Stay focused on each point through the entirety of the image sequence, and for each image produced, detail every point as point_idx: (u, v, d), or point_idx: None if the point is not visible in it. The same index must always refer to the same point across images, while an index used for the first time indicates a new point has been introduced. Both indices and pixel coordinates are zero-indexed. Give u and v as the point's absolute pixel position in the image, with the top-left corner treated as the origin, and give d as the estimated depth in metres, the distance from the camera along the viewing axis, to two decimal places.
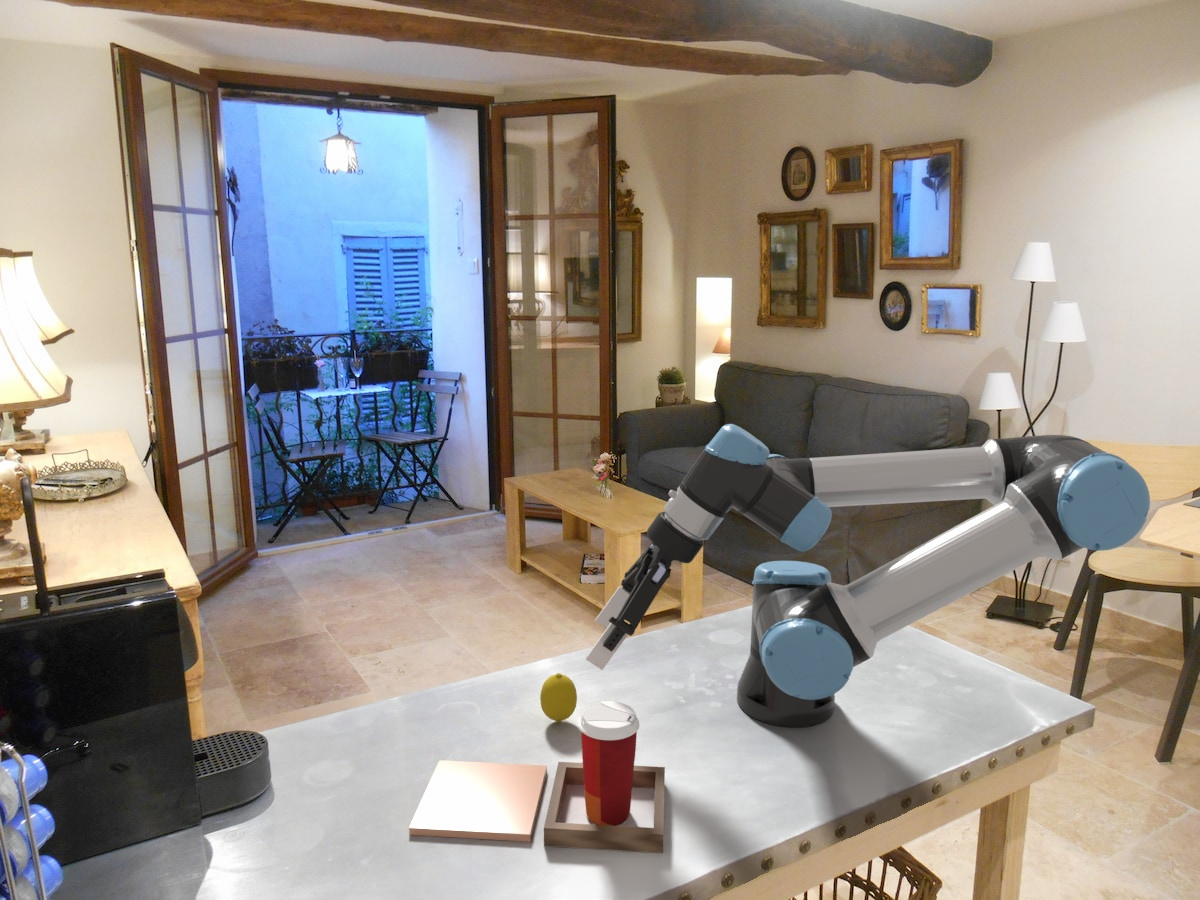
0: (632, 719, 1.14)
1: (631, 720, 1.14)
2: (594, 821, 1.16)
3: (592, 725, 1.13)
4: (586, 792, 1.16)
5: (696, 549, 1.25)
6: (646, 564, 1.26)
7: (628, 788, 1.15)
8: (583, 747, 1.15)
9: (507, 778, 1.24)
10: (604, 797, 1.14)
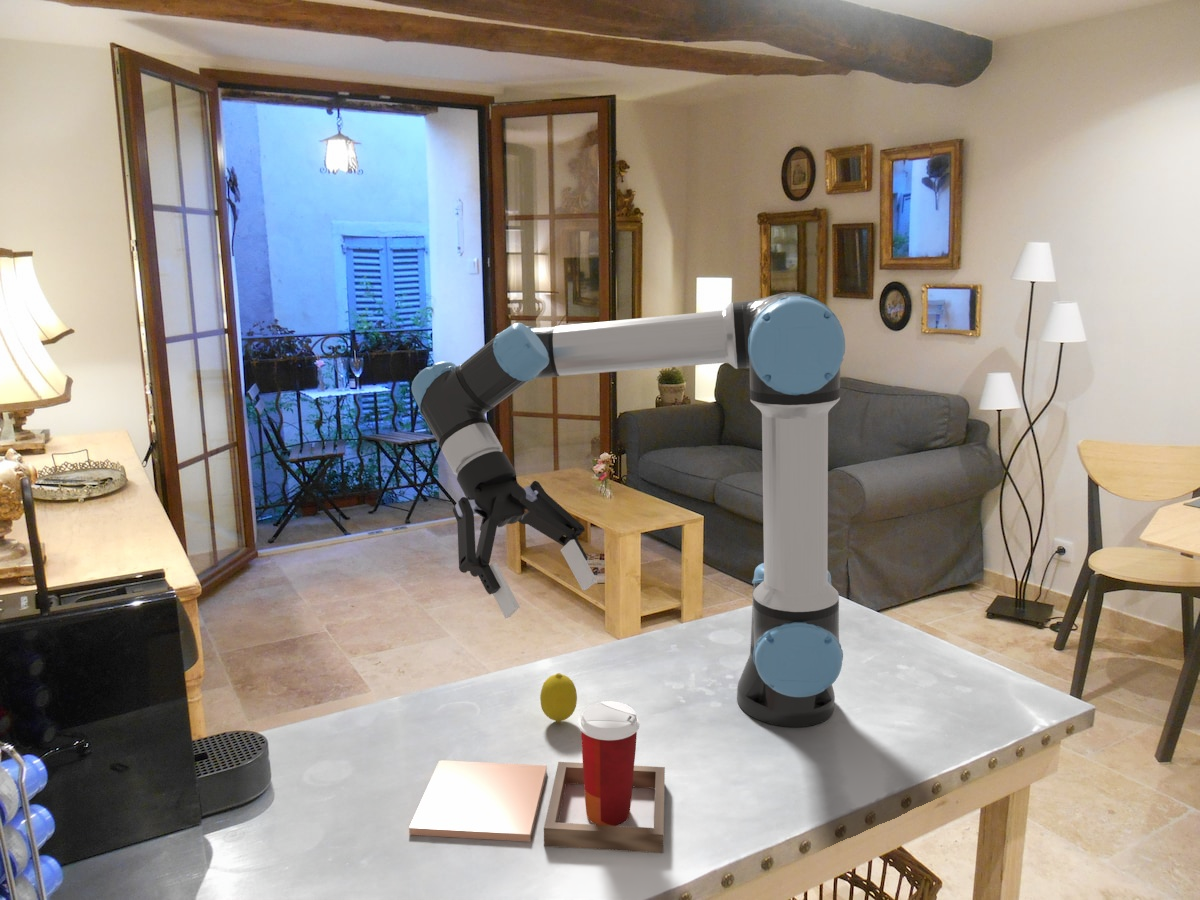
0: (632, 719, 1.14)
1: (631, 720, 1.14)
2: (594, 821, 1.16)
3: (592, 725, 1.13)
4: (586, 792, 1.16)
5: (479, 462, 1.22)
6: None
7: (628, 788, 1.15)
8: (583, 747, 1.15)
9: (507, 778, 1.24)
10: (604, 797, 1.14)
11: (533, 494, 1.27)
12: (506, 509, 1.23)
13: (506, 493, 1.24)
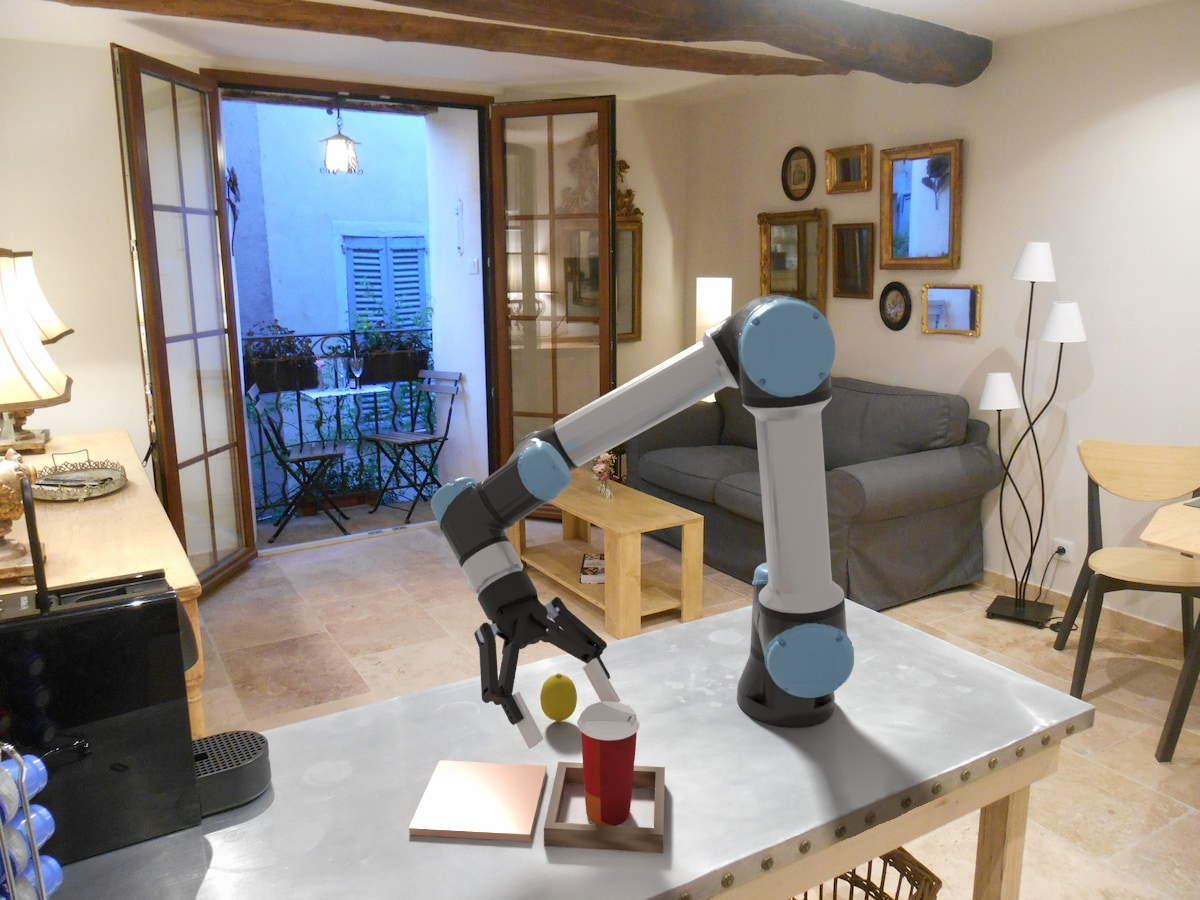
0: (632, 719, 1.14)
1: (631, 720, 1.14)
2: (594, 821, 1.16)
3: (592, 725, 1.13)
4: (586, 792, 1.16)
5: (500, 585, 1.21)
6: None
7: (628, 788, 1.15)
8: (583, 747, 1.15)
9: (507, 778, 1.24)
10: (604, 797, 1.14)
11: (555, 612, 1.26)
12: (528, 632, 1.22)
13: (528, 614, 1.23)
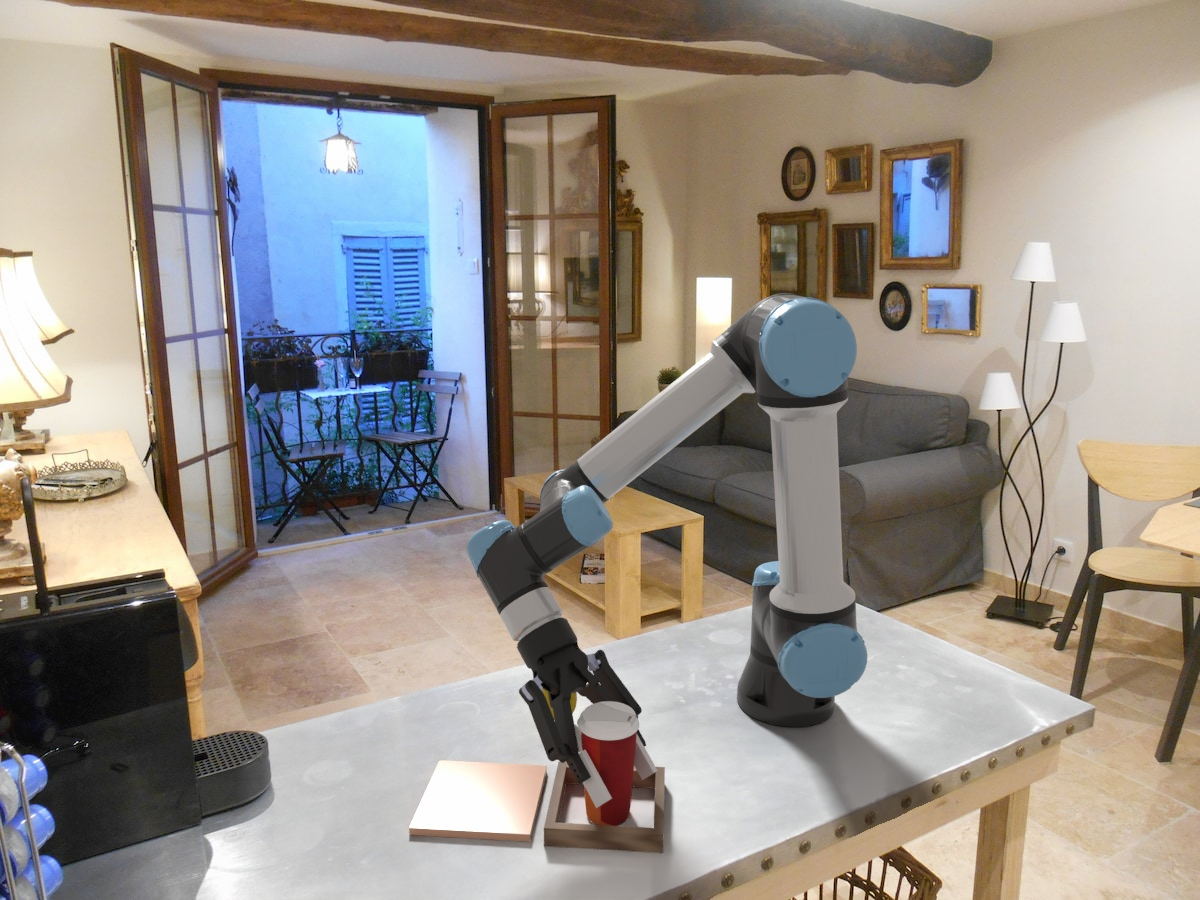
0: (632, 719, 1.14)
1: (631, 720, 1.14)
2: (594, 821, 1.16)
3: (591, 725, 1.13)
4: (586, 792, 1.16)
5: (541, 633, 1.18)
6: None
7: (628, 787, 1.15)
8: (583, 747, 1.15)
9: (507, 778, 1.24)
10: None
11: (595, 664, 1.23)
12: (570, 681, 1.18)
13: (569, 662, 1.20)
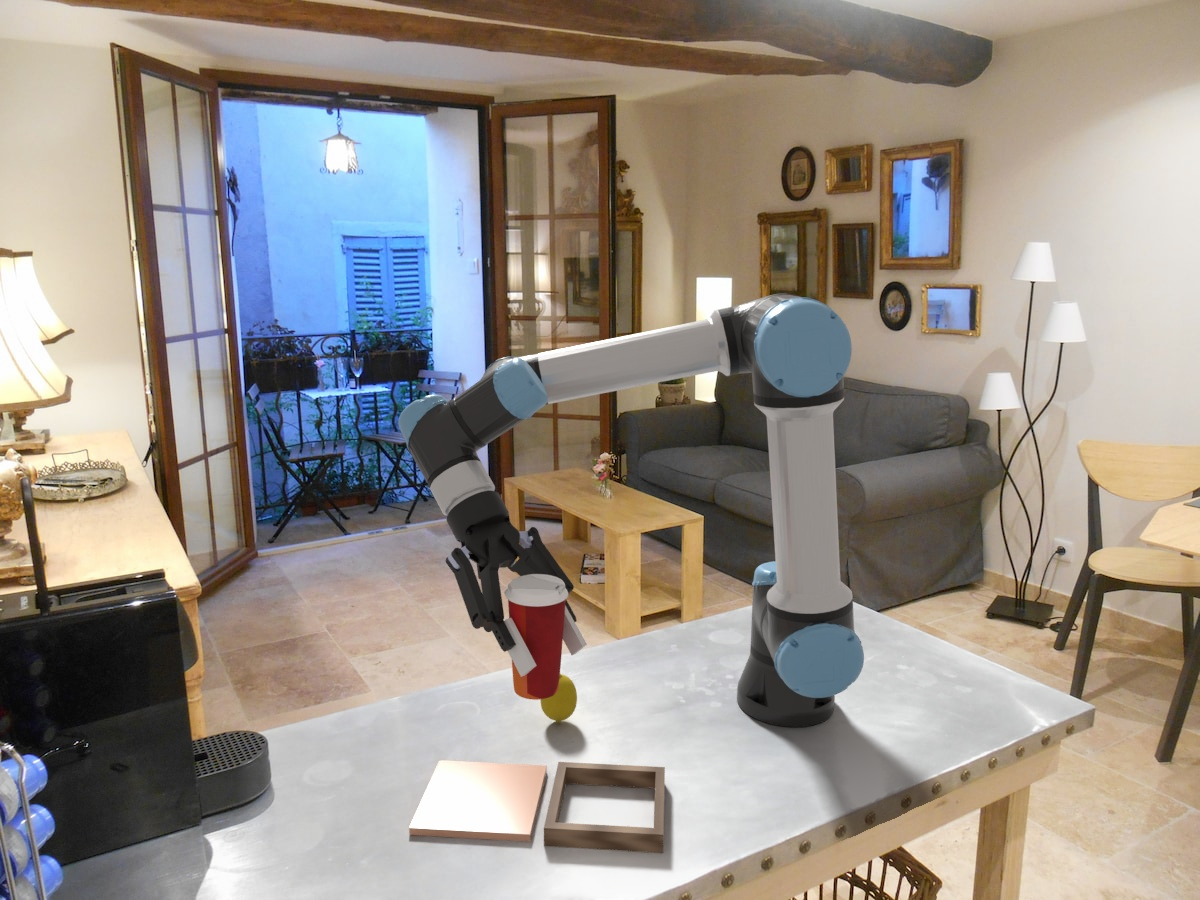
0: (560, 588, 1.11)
1: (559, 588, 1.11)
2: (521, 694, 1.13)
3: (518, 592, 1.10)
4: (513, 664, 1.13)
5: (470, 503, 1.15)
6: None
7: (556, 659, 1.13)
8: (510, 617, 1.12)
9: (507, 778, 1.24)
10: None
11: (528, 540, 1.20)
12: (499, 553, 1.16)
13: (499, 535, 1.17)
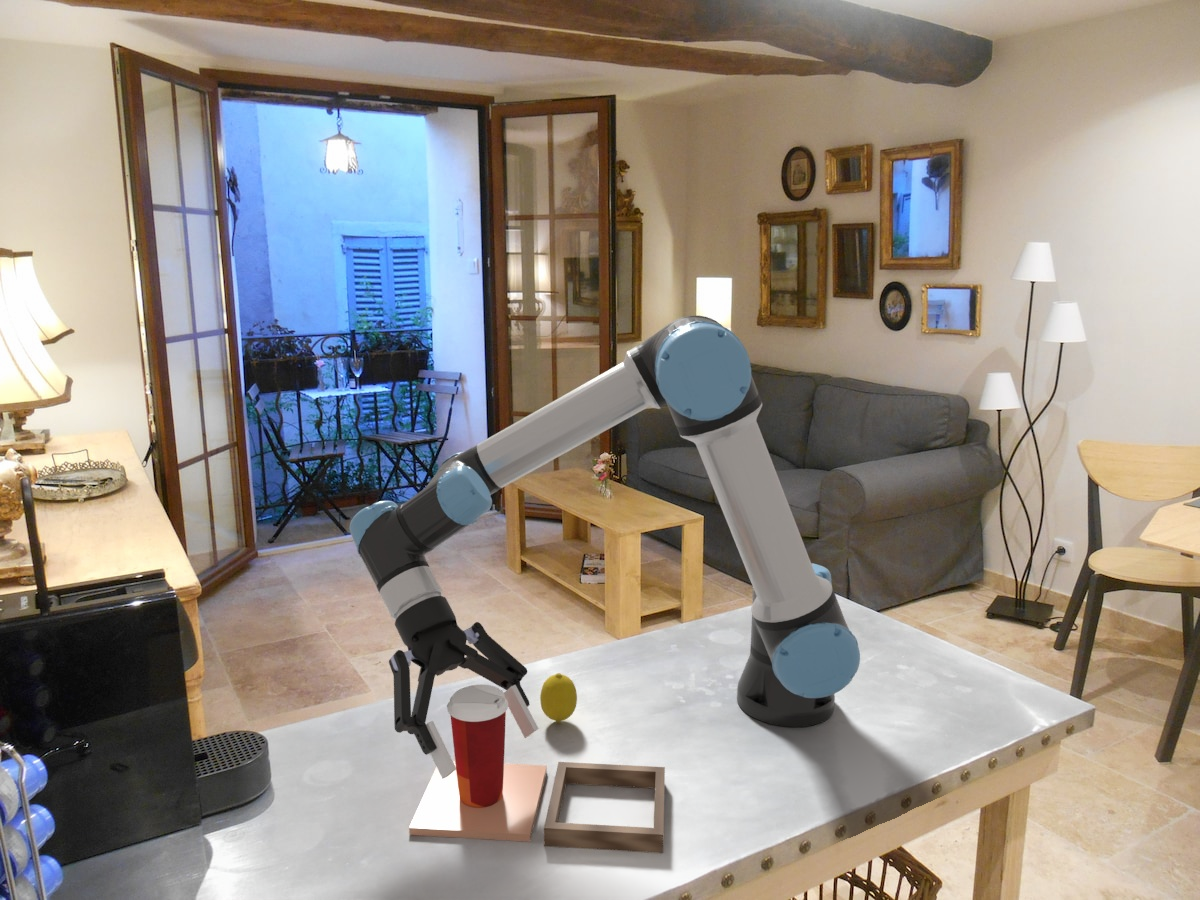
0: (499, 701, 1.16)
1: (498, 702, 1.16)
2: (465, 803, 1.18)
3: (458, 707, 1.15)
4: (457, 774, 1.18)
5: (416, 611, 1.20)
6: None
7: (497, 769, 1.17)
8: (452, 729, 1.17)
9: (507, 778, 1.24)
10: (473, 778, 1.16)
11: (474, 637, 1.25)
12: (445, 658, 1.20)
13: (445, 640, 1.22)
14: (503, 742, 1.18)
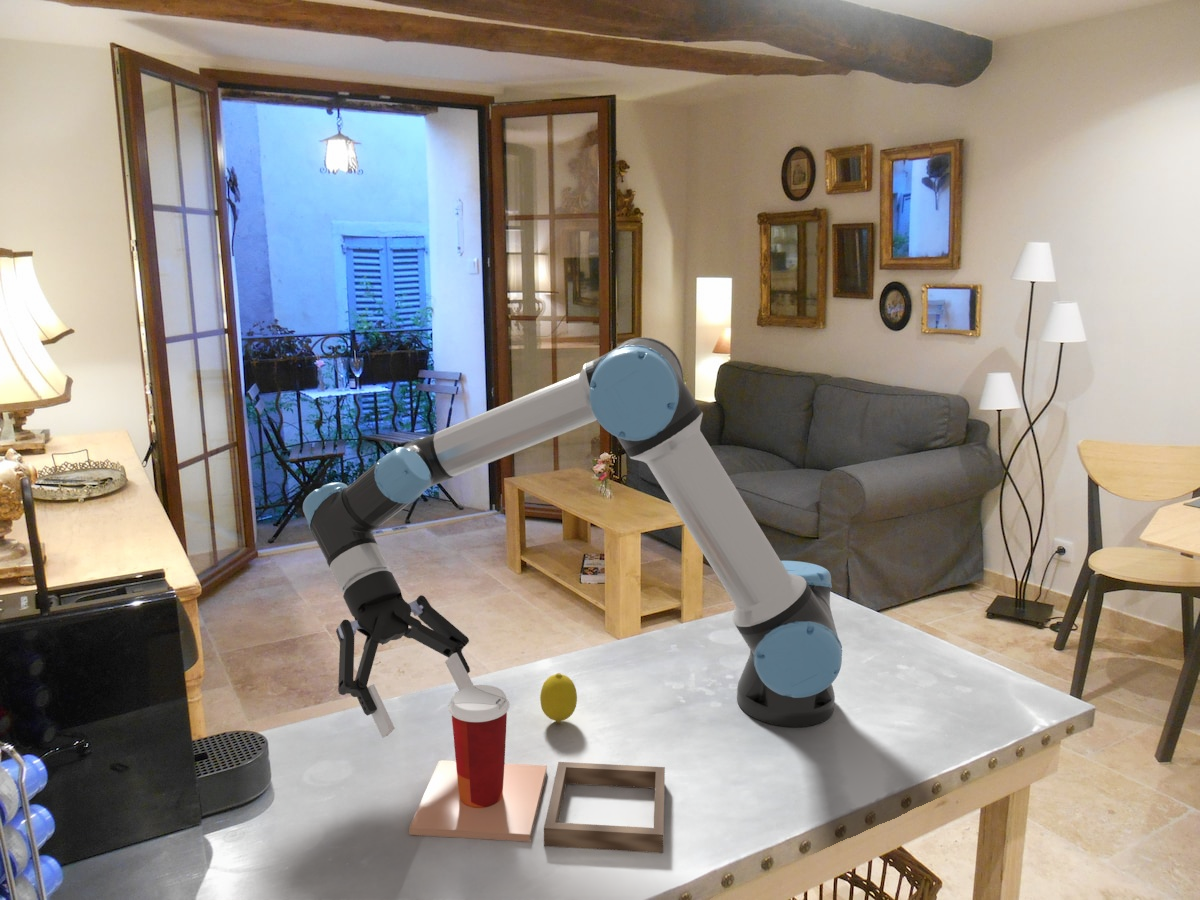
0: (501, 702, 1.16)
1: (499, 703, 1.16)
2: (465, 803, 1.18)
3: (459, 707, 1.14)
4: (457, 774, 1.18)
5: (362, 584, 1.29)
6: None
7: (498, 769, 1.17)
8: (453, 729, 1.17)
9: (507, 778, 1.24)
10: (473, 778, 1.16)
11: (419, 609, 1.34)
12: (389, 628, 1.29)
13: (390, 611, 1.31)
14: (504, 743, 1.18)
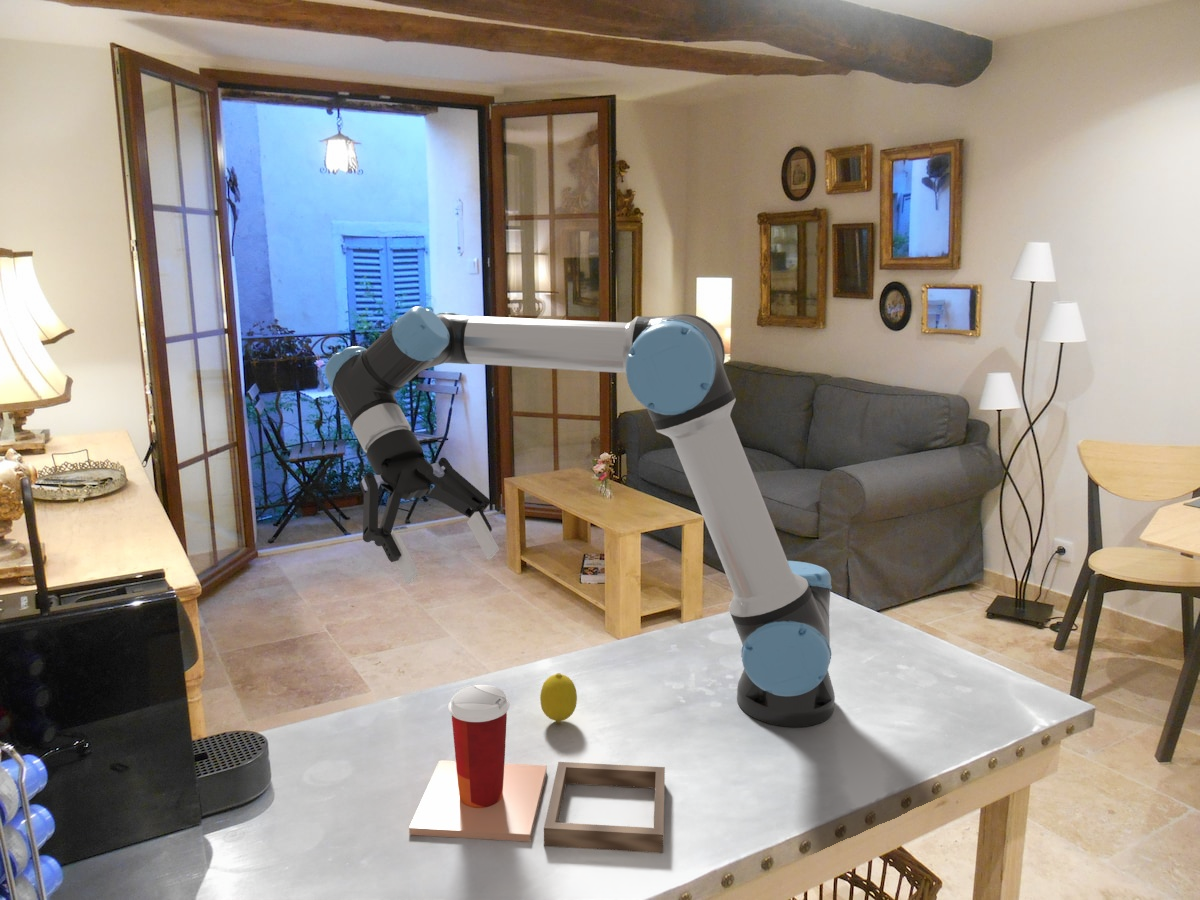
0: (501, 702, 1.16)
1: (499, 703, 1.16)
2: (465, 803, 1.18)
3: (459, 707, 1.14)
4: (457, 774, 1.18)
5: (385, 440, 1.30)
6: None
7: (498, 769, 1.17)
8: (453, 729, 1.17)
9: (507, 778, 1.24)
10: (473, 778, 1.16)
11: (441, 470, 1.35)
12: (412, 484, 1.30)
13: (413, 469, 1.32)
14: (504, 743, 1.18)
